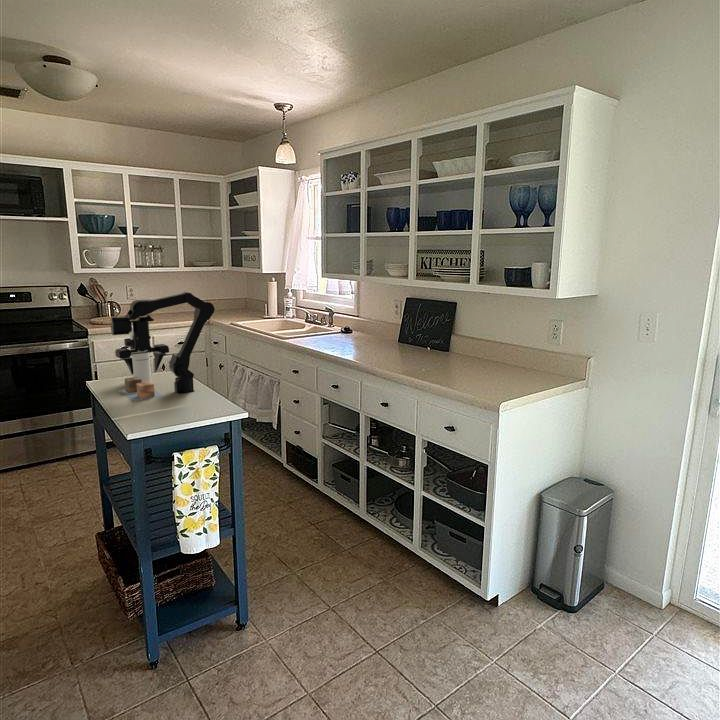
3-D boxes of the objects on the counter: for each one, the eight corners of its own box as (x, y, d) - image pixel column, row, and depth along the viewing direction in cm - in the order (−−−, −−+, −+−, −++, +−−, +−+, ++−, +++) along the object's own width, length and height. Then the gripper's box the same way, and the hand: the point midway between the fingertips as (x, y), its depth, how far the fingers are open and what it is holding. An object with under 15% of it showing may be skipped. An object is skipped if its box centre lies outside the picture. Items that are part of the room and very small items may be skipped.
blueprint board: (147, 387, 222) (147, 385, 222) (165, 397, 208) (164, 395, 208) (117, 392, 214) (117, 390, 214) (133, 402, 200) (133, 400, 200)
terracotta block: (150, 393, 210) (149, 381, 209) (154, 396, 207) (153, 384, 206) (137, 395, 207) (136, 383, 206) (141, 398, 203) (140, 386, 202)
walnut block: (137, 388, 218) (137, 376, 217) (142, 390, 214) (141, 379, 213) (125, 390, 215) (124, 378, 213) (129, 393, 211) (128, 380, 210)
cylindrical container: (143, 380, 234) (139, 324, 229) (154, 382, 231) (151, 325, 226) (129, 383, 228) (125, 326, 222) (141, 385, 224) (137, 327, 219)
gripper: (157, 328, 214) (160, 365, 217) (109, 332, 201) (112, 372, 205) (168, 331, 205) (171, 370, 209) (118, 336, 193) (122, 377, 197)
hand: (144, 372), depth 205 cm, fingers open, 9 cm apart
